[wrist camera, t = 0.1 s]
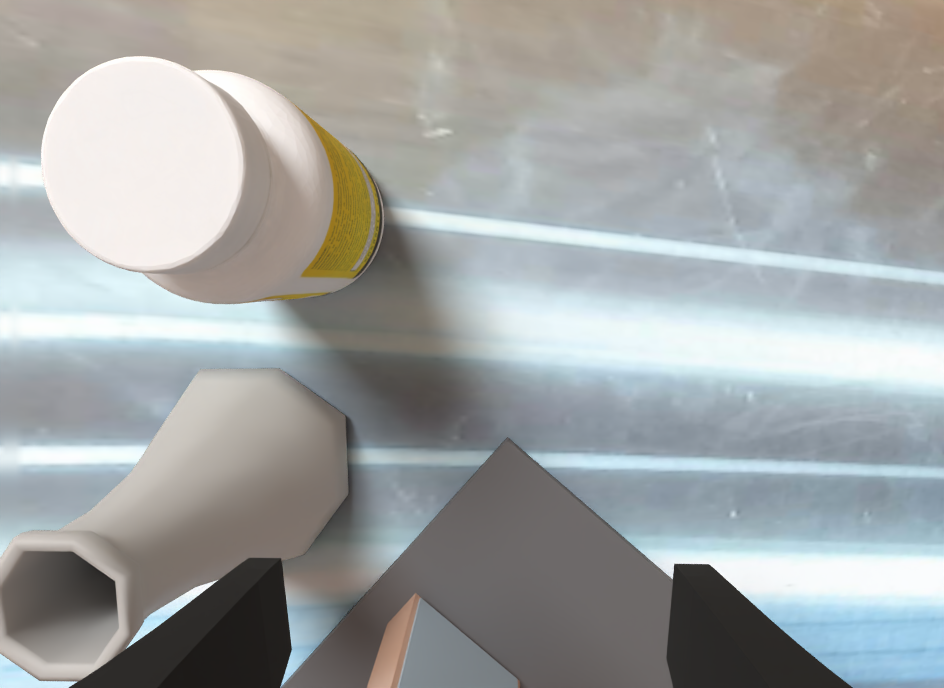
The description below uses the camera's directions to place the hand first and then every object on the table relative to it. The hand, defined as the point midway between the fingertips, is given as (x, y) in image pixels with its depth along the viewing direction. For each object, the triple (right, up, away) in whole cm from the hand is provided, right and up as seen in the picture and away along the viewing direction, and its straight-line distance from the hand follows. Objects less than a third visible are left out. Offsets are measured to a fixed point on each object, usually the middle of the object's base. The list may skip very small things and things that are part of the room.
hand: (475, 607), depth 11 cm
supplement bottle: (-6, +9, +10) cm, 15 cm away
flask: (-8, +1, +11) cm, 14 cm away
